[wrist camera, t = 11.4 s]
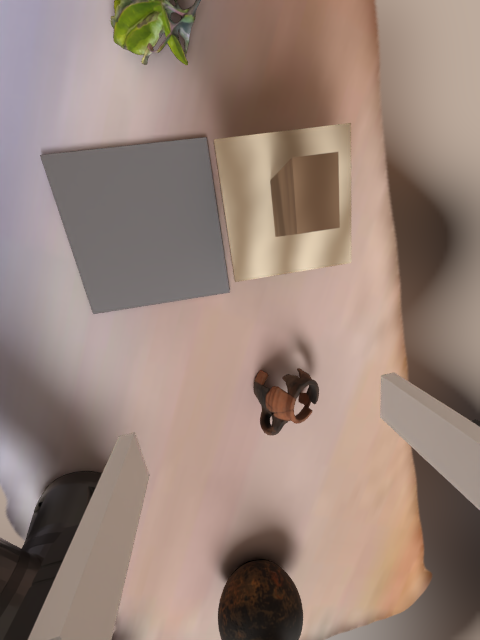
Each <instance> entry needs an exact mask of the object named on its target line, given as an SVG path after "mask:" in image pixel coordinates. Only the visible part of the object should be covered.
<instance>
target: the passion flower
mask: <svg viewBox="0 0 480 640" xmlns="http://www.w3.org/2000/svg"><path fill="white" fill-rule="evenodd" d="M174 1H175V3H176V6H173V5H171V3H170V1H169V0H115V1H114V9H115V16H111V25H112V26H113V28H114V36H113V38H114V42H115V43H116V44H118V45H120V46H121V47H122V48H123V49H126V50H129V51H131V52H132V53H135V54H138V55H144V56H143V58H142V61H141V62H142V64H144V65H147V61H148V58H149V56H150V54H152V53H158V52H160V51H161V50H162V49H163V48H164V46H165V45H166V44H167V43H168V45H169V47H170V49H171V51H172V52H173V53H174V55H175V56H176V58H177V59H179V60H180V61H181V62H182V63H184V64H185V65H188V61H187V59H186V53H187V49H188V43H189V36H190V32H191V27H192V25H193V23H194V20H195V13H196V9H197V7H198V5H199V3H200V1H201V0H196V1H195V3H194V5H193V6H192V7H190V8H188V9H182V8H181V7H180V6H179V4H178V2H177V0H174ZM172 12H175V13H177V14H179V15H180V16H181V20H180V21H179V22H178V23H174V22H173V21H172V20H171V13H172ZM178 29H179V32H180V35H181V36H182V37H183V38H184V40H185V50H184V51H183V49H182V46H181V43H180V41H179V36H178ZM163 33H165V35H166V38H165V41H164V42H163V43H162V44H161V45H160V47H159V48H158V50H157V51H154V49H153V47H154V46H155V45H156V43H157V42H158V40H159V39H160V38H161V36H162V34H163Z"/></svg>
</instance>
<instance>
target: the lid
mask: <svg viewBox="0 0 480 640" xmlns="http://www.w3.org/2000/svg"><path fill="white" fill-rule="evenodd" d="M214 148H215V154H216V161H217V167H218V174H219V181H220V187H221V194H222V200H223V207H224V214H225V220H226V227H227V233H228V240H229V247H230V253H231V260H232V266H233V273H234V280H235V282H239V281H245V280H251V279H257V278H263V277H269V276H275V275H281V274H287V273H293V272H299V271H305V270H311V269H317V268H323V267H329V266H335V265H342V264H348V263H351V123H346V124H338V125H329V126H321V127H313V128H304V129H296V130H288V131H279V132H271V133H262V134H254V135H246V136H237V137H229V138H221V139H214Z"/></svg>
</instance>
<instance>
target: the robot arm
mask: <svg viewBox="0 0 480 640" xmlns="http://www.w3.org/2000/svg"><path fill="white" fill-rule="evenodd" d="M380 418H382V419H383V420H384V421H385V422H386V423H387V424H388V425H389V426H390V427H391V428H392V429H393V430H394V431H395V432H397V433H398V434H399V435H400V436H401V437H402V438H403V439H404V440H405V441H406V442H407V443H408V444H409V445H410V446H412V447H413V448H414V449H415V450H416V451H417V452H418V453H419V454H420V455H421V456H422V457H423V458H424V459H425V460H427V461H428V462H429V463H430V464H431V465H432V466H433V467H434V468H435V469H436V470H437V471H438V472H439V473H440V474H442V475H443V476H444V477H445V478H446V479H447V480H448V481H449V482H450V483H451V484H452V485H453V486H454V487H455V488H457V489H458V490H459V491H460V492H461V493H462V494H463V495H464V496H465V497H466V498H467V499H468V500H469V501H471V502H472V503H473V504H474V505H475V506H476V507H477V508H478V509H479V510H480V421H478V420H473V421H470V420H468V419H466V418H465V417H463V416H462V415H460V414H459V413H457V412H455V411H454V410H452V409H451V408H449V407H448V406H446V405H445V404H443V403H441V402H440V401H438V400H437V399H435V398H433V397H432V396H430V395H429V394H427V393H426V392H424V391H422V390H421V389H419V388H418V387H416V386H415V385H413V384H411V383H410V382H408V381H407V380H405V379H404V378H402V377H400V376H399V375H397V374H396V373H390V374H385V375H381V414H380ZM148 480H149V472H148V469H147V466H146V464H145V461H144V458H143V455H142V452H141V449H140V446H139V443H138V441H137V438H136V435H135V433H131V434H127V435H122V436H119V437H118V439H117V441H116V444H115V446H114V448H113V450H112V452H111V455H110V457H109V459H108V461H107V464H106V466H105V468H104V470H103V473H102V474H101V473H96V472H76V473H71V474H67V475H65V476H62V477H60V478H58V479H57V480H55V481H54V482H52V483H51V484H50V485H49V486H48V487H47V489H46V490H45V492H44V493H43V495H42V496H41V498H40V499H39V501H38V503H37V505H36V507H35V510H34V514H33V517H32V520H31V523H30V527H29V530H28V533H27V537H26V540H25V543H24V545H23V547H22V549H20V548H19V547H17V546H15V545H13V544H11V543H9V542H7V541H6V540H4V539H2V538H0V640H111V639H112V635H113V630H114V626H115V622H116V617H117V613H118V609H119V605H120V600H121V596H122V592H123V587H124V583H125V579H126V574H127V570H128V566H129V562H130V557H131V553H132V549H133V544H134V540H135V536H136V531H137V527H138V523H139V519H140V514H141V510H142V506H143V501H144V497H145V493H146V488H147V484H148Z"/></svg>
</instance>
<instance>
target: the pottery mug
mask: <svg viewBox="0 0 480 640" xmlns="http://www.w3.org/2000/svg"><path fill="white" fill-rule="evenodd" d="M297 370H298V372H299V377H300V378H299V377H298V376H294V375H289V374H287V375H285V376H283V380H284V381H285V382H286V385H287V388H288V393H287V392H285V391H283V390H282V389H281V388H280V387H278V386H273V387H272V388H271V389H270V388H267V387H265V386H264V384H265V381H266V379H267V377H268V374H267V373H265V372H263V371H262V370H260V371H259V373H258V374H257V376H256V379H255V382H254V393H255V395H256V397H257V398H258V400H259V402H260V404H261V405H262V412H261V417H260V424H261V428H262V430H263V431H264V433H266V434H267V435H276V434H278V433H279V431H280V430H281V429H282V427H283V426H284V424H286V423H287V422H288V421H293V422H294V423H301V422H303V421H305V420H306V419H307V418H308V417H309V416H310V414H311V413H312V410H311V409H309V406H310V403H311V402H312V403H314V404H316V402H317V401H318V397H319V387H318V384H317V382H316V381H314V380H312V379H311V377H310V375H309V374H307V373H306V372H304V371H303V370H301V369H299V368H298V369H297ZM307 385H309V388H308V390H307V393H300V392H301V390H302V389H303V388H304V387H306V386H307ZM299 393H300V395H299ZM298 395H299V402H300V403H302V404H304V405H305V406H304V408H303V409H302V410H301V412H300V413H299V414H297V415H296V416H295V415H294V405H295V401H296V398H297V396H298ZM271 416H272V419H273V421H272V425H271V424H270V417H271Z"/></svg>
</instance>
